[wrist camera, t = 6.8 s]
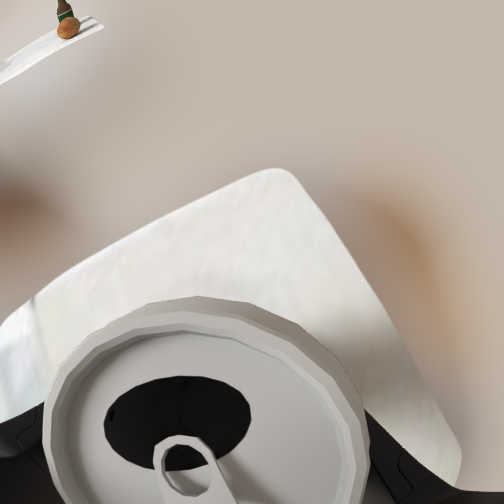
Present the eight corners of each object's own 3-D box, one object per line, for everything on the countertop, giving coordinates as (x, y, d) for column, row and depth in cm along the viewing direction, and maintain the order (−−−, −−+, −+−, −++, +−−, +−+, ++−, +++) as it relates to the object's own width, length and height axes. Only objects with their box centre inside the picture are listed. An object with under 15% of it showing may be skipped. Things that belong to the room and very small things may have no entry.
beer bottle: (65, 30, 74) (54, -7, 52) (79, 24, 74) (69, -14, 53) (60, 34, 70) (48, -4, 49) (74, 28, 71) (63, -11, 50)
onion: (61, 40, 64) (55, 22, 55) (83, 29, 66) (77, 11, 57) (59, 45, 61) (52, 26, 52) (82, 34, 63) (76, 14, 54)
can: (268, 329, 16) (315, 215, 5) (313, 441, 13) (434, 529, 2) (149, 366, 15) (-8, 321, 4) (191, 478, 12) (107, 599, 1)
